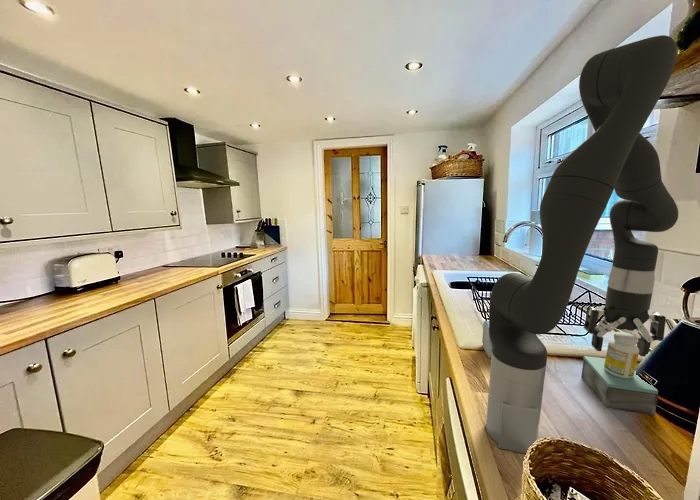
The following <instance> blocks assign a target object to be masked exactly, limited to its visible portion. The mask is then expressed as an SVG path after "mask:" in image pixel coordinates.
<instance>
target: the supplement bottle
mask: <svg viewBox="0 0 700 500" xmlns="http://www.w3.org/2000/svg"><path fill="white" fill-rule="evenodd" d="M638 338H639V337H637V336H636V335H633V334H631V333H629V332H624V331H616V332H614V335H613V339H611V340H610V341H608V345H607V350H606V355H605V358H606V359H605V364H604V368H605V370H606V371H607V372H608V373H610V374H612V375H614V376H617V377H620V378H626V379H629V378H632V377H633V376H634V372H635V370H636V367H637V362H638V358H639V356H640V355H639V348H638V347H637V343H638Z"/></svg>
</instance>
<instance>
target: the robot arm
mask: <svg viewBox="0 0 700 500" xmlns="http://www.w3.org/2000/svg"><path fill="white" fill-rule="evenodd" d="M677 49H678V48H677V44H676V41H675V40H674V38H672V37H671V36H669V35H666V34H665V35H664V34H663V35H656V36H651V37H647V38H643V39H640V40H637V41H636V40H635V41H632V42H630V43H627V44H623V45H619V46H618V47H614V48H609V49H608V50H604V51H602V52H599V53H596V54H594V55H592V56H591V57H590V58H589V59H588V60H587V61H586V63H585V64H584V66H583V68H582V70H581V71H580V72H581V73H580V76H579V81H578V89H579V90H578V91H579V96H580V100H581V102H582V105H583V107H584V110H585V113H586V114H587V116H588V119H589V121H590V123H591V125H592V127H593V130H594V133H592V134H591V135H590V136H589V137H588V138H587V139H586V140H584V141H583V142H582V143H581V144H580V145H579V146H578V147H576V148H575V149H574V150H573V151H572V152H571V153H570V154H569V155H568V156H566V157H565V158H564V159H563V160H562V161H561V163H560V164H559V165H558V166H557V167H556V168H555V169H554V171H553V173H552V175H551V177H550V180H549V181H548V185H547V187H546V189H545V190H544V191H545V192H544V193H543V196H542V198H541V202H540V205H539V219H540V220H539V221H540V226H541V227H540V228H541V233H542V241H543V242H542V245H543V247H542V254H541V255H540V256H541V257H540V260H539V263H538V265H537V268H536V271H535V273H534V275H533V277H532V276H528V275H525V274H522V273H518V272H511V273H510V272H509V273H506V274H504V275H502V276H501V277H499V278H498V279H497V281H496V282H495V283H494V285H493V287H492V289H491V292H490V297H489V308H488V309H489V310H488V311H489V313H488V321H489V337H490V340H491V343H492V357H491V358H490V359H491V360H490V369H489V371H490V372H489V373H490V374H489V382H488V395H487V406H486V422H485V428H486V432H487V434H488V436H489V437H490V438H491V439H492V440H493V441H494V442H495V443H496V444H497V448H498V449H502V450H506V451H511V452H515V453H516V452H517V453H520V454H521V453H522V454H525V453H526V452H527V450H528V448H529V447H530V446H531V445H532V444H533V443H534V442H535V441H536V440H537V441H538V439H539V438H538V437H539V429H540V421H541V410H542V403H543V395H544V385H545V378H546V369H547V362H548V351H547V348H546V346H545V344H544V343H543V342H542V341H541V340H540V338H539V337H538V336H539V335H545V334H548V333H549V332H551V331H553V329H555V328H556V327H557V326H558V324H559V323H560V322H561V321H562V318H563V317H564V315H565V313H566V310H567V307H568V305H569V302H570V298H571V296H572V293H573V290H574V286H575V283H576V280H577V276H578V273H579V271H580V268H581V265H582V263H583V259H584V257H585V254H586V251H587V250H588V247H589V246H590V245H589V244H590V242H591V240H592V237H593V235H594V233H595V231H596V228H597V226H598V224H599V222H600V220H601V218H602V215H603V214H604V213H605V210H606V208H607V206H608V203H609V201H610V199H611V196H612V195H613V192H615V194H616V196H617V197H618V198H620V200H618V201H616V202H615V203H614V204H613V205H612V207H611V208H610V210H609V222H610V226H611V227H610V228H611V230H612V235H613V243H614V252H613V254H614V255H613V259H612V265H611V269H610V272H609V275H608V280H607V287H606V294H605V305H604V308H603V309H600V308H595V307H593V306H588V308H587V311H586V316H585V321H584V324H583V325H584V326H583V328H584V330H586V331H587V333H589V334H591V335H592V338H591V346H592V347H593V348H594V350H595V351H596V352H602V350H603V349H602V348H603V344H604V343H603V342H604V336H605V335H606V334H607V333H611V332H612V331H613V330H615V329H616V330H619V331H620V330H627V331H631V332H634V330H635V331H636V333H637V334H638V335H639V337H637V338H638V340H637V344H636V346H637V347H638V348H639V355H638V356H639V357H646V356H647V355H649V353H650V347H651V343H652V342H654V341H659V342H661V341H664V337H665V330H666V329H665V328H666V322H667V319H666V318H667V317H666V316H665V315H663V314H661V313H659V312H657V311H653V312H652V313H651V312H650V313H649V310H650V309H651V302H652V297H653V292H654V286H655V281H656V280H655V279H656V277H655V275H656V274H655V272H656V267H657V263H658V262H657V261H658V256H659V247H658V245H656V244H654V243H651V242H647V241H644V240H641V239H638V238H636V237H635V236H634V234H633V232H632V231H635V232H636V231H637V232H647V233H649V232H650V233H663V232H666V231H668V230H670V229H671V228H673V227H674V226H675V225H676V223H677V222H678V219H679V207H678V205H677V203H676V201H675V200H674V198H673V196H672V195H671V194H670V192H669V191H668V190H667V188H666V185H664V182H663V180H662V172H661V171H662V170H661V163H660V157H659V155H658V152H657V150H656V148H655V147H654V145H652V143H651V142H650V141H649V140H648V139H647V138H646V137H645V136H644V135H642V133H641V131H642V129H644V126H645V124H646V123H647V121H648V119H649V117H650V116H651V114H652V112H653V111H654V109H655V106H656V105H657V103H658V101H659V100H660V98H661V96H662V95H663V93H664V91H665V89H666V87H667V85H668V83H669V81H670V79H671V76H672V74H673V72H674V68H675V64H676V61H677V55H678V51H677ZM601 316H603V317H604V318H602V319H601V320H600V321H598V319H600V318H601ZM648 321H649V322H650V327H649V331H648V329H647V328H646V327H645V325H644V324H645V323H646V322H648ZM597 323H598V324H597Z"/></svg>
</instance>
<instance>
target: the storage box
mask: <svg viewBox="0 0 700 500" xmlns="http://www.w3.org/2000/svg"><path fill="white" fill-rule="evenodd" d="M581 369H582V371H581V377H580V378H581V379H582V380H583V381H584V383H585V384H586V386H588V388H589V389H590V391H591V392H592V393H593V394H594V396H595V397H596V398H597V399H598V401H599V402H600V403H601V404H602V405H603V407H604V408H605V409H610V410H615V411H623V412H627V413H635V414H641V415H648V416H653V417H654V416H655V415H656V410H657V405H658V400H659V394H653V393H646V392H639V391H632V390H625V389H617V388H610V387H607V385H606V384H605V383H604V382H603V381H602V380H601V379H600V377H599V376H598V375H597V374H596V373H595V372H594V370H593V369H592V368H591V367H590V366H589V365H588V363H587V362H586V361H585V360H584V359H583V362H582V368H581Z"/></svg>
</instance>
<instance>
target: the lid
mask: <svg viewBox="0 0 700 500" xmlns="http://www.w3.org/2000/svg"><path fill="white" fill-rule="evenodd" d="M582 357H583V361H584V360H585V361H586V362H587V363H588V365H589V366H590V367H591V368H592V369H593V370H594V372H595V373H596V374H597V375H598V376H599V377H600V379H601V380H602V381H603V382H604V383H605V384H606V385H607V387H610V388H617V389H625V390H632V391H639V392H646V393H653V394H657V395H659V394H658V393H659V390H658V389H657V388H656V387H654V385H652V384H651V383H650V384H651V385H650V384H648V383H647V382H645V381H644V380H642V379H641V378H640V377H639V376H638V375H636V371H637V370H636V369H635V372H634V376H633V377H632V378H629V379H626V378H620V377H617V376H614V375H612V374H610V373H608V372H607V371H606V370H605V368H604V364H605V359H606V357H605V358H604V357H597V356H589V355H587V356H586V355H583V356H582Z"/></svg>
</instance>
